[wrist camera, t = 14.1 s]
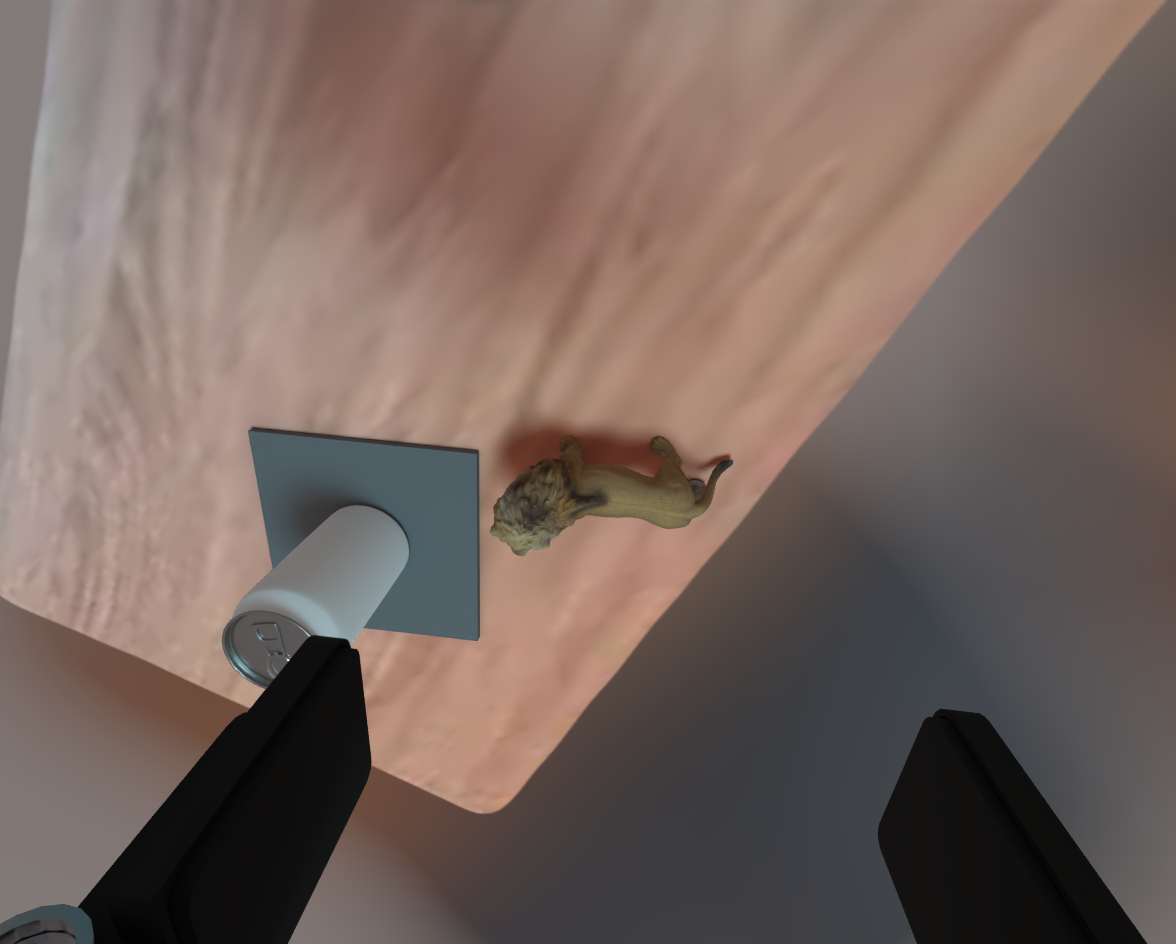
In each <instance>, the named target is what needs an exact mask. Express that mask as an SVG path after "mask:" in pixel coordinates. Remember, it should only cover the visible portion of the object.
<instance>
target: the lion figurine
mask: <svg viewBox="0 0 1176 944" xmlns="http://www.w3.org/2000/svg"><path fill="white" fill-rule="evenodd" d="M560 447H561V451H562V452H563V453H562V454H561V456H560V459H553V460H550V459H543V460H541V461H539V463H538V464H537V465H536V466H530V467H528V468H527V469H526V470H525V471H524V473H523V474H521V475H519V476H518V477H517V479H516V481H514V482H512V483H511V484H510V485H509V487H508V488H507V489H506V491H505V493H504V494H503V495H502V497H500V498H498V500H497V503H496V504H495V505H494V507H493V510H494V514H495V516H494V525H493V526H492V527H491V530H490V534H491V535H492V536H496V537H499V540H500V541H501V542H506V543H507V545H508V546H510V547H511V549H512V551H513V553H514V554H516V555H518V556H523V555H525V554H526V553H527V551H529V550H530V549H531V548H532V549H534V550H539V549H545V548H548V547H549V545H550V540H551V539H553V538H555V537H556V536H558V535H559V534H560V532H561V531H562V530H563V529H565V528H566V527H568V526H571V525H573V523H574V522H575V520H577V519H580V518H583V517H584V516H586V515H592V516H601V517H615V518H619V517H633V518H640V519H643V520H646V521H648V522H650V523H652V524H654V525H657V526H659V527H662V528H665V529H674V528H681V527H685V526H687V525H688V524H689V523H690V521H691V519H693V518H695V517H698V516H700V515H701V514H703V513H704V512H705V511H706V510H707V508H708V507H709V506H710V504H711V501H712V498H713V494H714V490H715V485H716V482H717V480H718V478H719V477H720V475H721V473H723V472H724V471H725V470H726V469H727V468H729V467H730V466H731V465H732V464H733V460H724V461H721V462H720V463H719V464H718V465H717V466H716V468H715V469H714V470H713V471H712V474H711V476H710V478H709V481H708V483H707V486H706V485H705V484H704V483H703V482H701V481H698V480H691V481H688V480H687V478H686V476H685V475H684V473H683V472H682V470H681V468H680V467H681V465H682V459H681V458H680V457H679V456H678V454H677V453H676V452H675V451H674V450H673V448H672V446H671V444H670V443H669V442H668V441H667V440H666V439H664V438H662V437H657V438H655V439H653V441H652V444H651V450H652V452H653V453H655V454H657V455H662V456H665V457H666V458H667V460H666V461H665V462H664V463H663V464H661V465H660V467H659V469H658V473H657V475H656V476H655V477H648V476H645V475H642V474H640V473H638V472H636V471H633V470H631V469H628V468H625V467H621V466H615V465H590V466H586V464H585V462H584V461H583V460H582V459H581V452H582V451H581V447H580V445H579V443H578V441H577V440H576V439H575V438H573V437H571V436H566V437H565V438H563V439H562V441H561V443H560Z"/></svg>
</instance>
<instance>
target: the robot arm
mask: <svg viewBox="0 0 1176 944" xmlns="http://www.w3.org/2000/svg"><path fill="white" fill-rule="evenodd" d="M370 769H371V751H370V743H369V734H368V725H367V716H366V708H365V699H364V690H363V681H362V673H361V664H360V655H359V651H358V650H357V649H351V646H350V642H349V641H348V640H347V639H344V638H335V637H327V636H318V635H312V636H310V637H308V638H307V639H306V640H305V641H304V643H303V644H302V645H301V646H300V648H299V649H298V650H297V651H296V652H295V654H294V655H293V656H292V657H291V659H290V660H289V661H288V662H287V664H286V665H285V666H284V667H283V669H282V670H281V671H280V672H279V674H278V675H277V676H276V677H275V679H274V680H273V681H272V682H271V683H270V685H269V686H268V687H267V688H266V690H265V691H264V692H263V693H262V695H261V696H260V697H259V698H258V700H257V701H256V702H255V703H254V705H253V706H252V707H251V708H250V710H249V711H248V712H246V713H243V714H241V715H239V716H237V717H236V718H235V719H234V720H233V721H232V722H231V723H230V724H229V725H228V726H227V727H226V728H225V729H224V731H223V732H222V733H221V734H220V735H219V736H218V738H217V739H216V740H215V741H214V742H213V744H212V745H211V746H210V747H209V749H208V750H207V751H206V752H205V754H204V755H203V756H202V757H201V758H200V759H199V761H198V762H197V763H196V764H195V765H194V767H193V768H192V769H191V771H190V772H189V773H188V774H187V775H186V777H185V778H184V779H183V780H182V781H181V782H180V784H179V785H178V786H177V787H176V789H175V790H174V791H173V792H172V794H171V795H170V796H169V797H168V798H167V800H166V801H165V802H164V803H163V804H162V806H161V807H160V808H159V809H158V810H157V812H156V813H155V814H154V815H153V816H152V818H151V819H150V820H149V821H148V822H147V824H146V825H145V826H144V827H143V829H142V830H141V831H140V832H139V834H138V835H137V836H136V837H135V838H134V840H133V841H132V842H131V843H130V844H129V846H128V847H127V848H126V849H125V851H124V852H123V853H122V854H121V855H120V856H119V858H118V859H117V860H116V861H115V863H114V864H113V865H112V866H111V867H110V869H109V870H108V871H107V872H106V873H105V875H104V876H103V877H102V878H101V880H100V881H99V882H98V883H97V884H96V886H95V887H94V888H93V889H92V890H91V892H90V893H89V894H88V895H87V897H86V898H85V899H84V900H83V901H82V902H81V904H80V905H79V906H78V907H74V906H70V905H66V904H60V905H49V906H41V907H38V908H35V909H33V910H30V911H27V912H24V913H21V914H18V915H16V916H14V917H12V918H10V919H8V920H7V921H5V922H3V923H1V924H0V944H288V942H289V940H290V938H291V936H292V934H293V932H294V930H295V928H296V926H297V924H298V921H299V920H300V918H301V915H302V914H303V912H304V910H305V907H306V905H307V903H308V901H309V899H310V897H311V895H312V893H313V891H314V889H315V887H316V885H317V883H318V881H319V879H320V877H321V875H322V873H323V871H324V869H325V867H326V865H327V863H328V861H329V858H330V856H331V854H332V852H333V850H334V848H335V846H336V844H337V842H338V840H339V838H340V836H341V834H342V832H343V830H344V828H345V826H346V824H347V822H348V820H349V818H350V816H351V814H352V811H353V809H354V807H355V805H356V803H357V801H358V799H359V797H360V795H361V793H362V791H363V789H364V787H365V785H366V782H367V780H368V777H369V773H370ZM878 840H879V846H880V849H881V852H882V855H883V857H884V860H885V862H886V865H887V867H888V870H889V873H890V875H891V877H892V880H893V883H894V886H895V888H896V891H897V893H898V896H899V898H900V901H901V904H902V906H903V908H904V911H905V914H906V916H907V919H908V922H909V924H910V927H911V929H912V932H913V934H914V937H915V940H916V942H917V944H1147V943H1146V941H1145V940H1144V939H1143V937H1142V936H1141V934H1140V933H1139V931H1138V930H1137V929H1136V927H1135V926H1134V924H1133V923H1132V922H1131V920H1130V919H1129V917H1128V916H1127V915H1126V914H1125V912H1124V910H1123V909H1122V908H1121V906H1120V905H1119V904H1118V902H1117V900H1116V899H1115V898H1114V896H1113V895H1112V894H1111V892H1110V891H1109V889H1108V888H1107V886H1106V885H1105V884H1104V882H1103V881H1102V879H1101V878H1100V877H1099V875H1098V874H1097V872H1096V871H1095V870H1094V868H1093V867H1092V866H1091V864H1090V862H1089V861H1088V860H1087V858H1086V857H1085V856H1084V854H1083V853H1082V851H1081V850H1080V848H1079V847H1078V846H1077V844H1076V843H1075V841H1074V840H1073V839H1072V838H1071V836H1070V834H1069V833H1068V832H1067V830H1066V829H1065V828H1064V826H1063V824H1062V823H1061V822H1060V820H1059V819H1058V818H1057V816H1056V815H1055V813H1054V812H1053V810H1052V809H1051V808H1050V806H1049V805H1048V804H1047V802H1046V801H1045V799H1044V798H1043V796H1042V795H1041V794H1040V792H1039V791H1038V790H1037V788H1036V786H1035V785H1034V784H1033V782H1032V781H1031V779H1030V778H1029V777H1028V775H1027V774H1026V773H1025V771H1024V770H1023V768H1022V767H1021V765H1020V764H1019V763H1018V761H1017V760H1016V758H1015V757H1014V755H1013V754H1012V753H1011V751H1010V750H1009V748H1008V747H1007V746H1006V744H1005V743H1004V741H1003V740H1002V739H1001V737H1000V736H999V734H998V733H997V732H996V730H995V729H994V727H993V726H992V724H991V723H990V722H989V721H988V720H987V719H986V718H985V716H983V715H981V714H979V713H973V712H964V711H955V710H947V709H939V710H938V711H936V712H935V714H934V716H933V717H927V718H926V719H925V720H924V722H923V723H922V726H921V728H920V730H919V733H918V735H917V737H916V740H915V743H914V744H913V747H912V749H911V751H910V754H909V756H908V759H907V761H906V763H905V765H904V768H903V770H902V772H901V775H900V777H899V779H898V782H897V784H896V786H895V789H894V791H893V793H892V796H891V798H890V800H889V802H888V805H887V807H886V809H885V812H884V814H883V816H882V819H881V821H880V823H879V828H878Z"/></svg>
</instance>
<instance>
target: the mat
mask: <svg viewBox="0 0 1176 944" xmlns="http://www.w3.org/2000/svg"><path fill="white" fill-rule="evenodd" d="M248 434H249V439H250V445H251V450H252V456H253V461H254V467H255V473H256V478H257V484H258V489H259V495H260V500H261V506H262V511H263V517H264V523H265V528H266V534H267V539H268V545H269V550H270V556H271V561H272V567H273V569H274V568H275V567H276V566H277V565H278V564H279V563H280V562H281V561H282V560H283V559H284V558H285V557H286V556H288V555H289V554H290V553H291V552H292V551H293V550H294V549H295V548H296V547H297V546H298V545H299V544H300V543H301V542H303V541H304V540H305V539H306V538H307V537H308V536H309V535H310V534H311V533H312V532H313V531H314V530H315V529H317V528H318V527H319V526H320V525H321V524H322V523H323V522H324V521H325V520H326V519H327V518H329V517H330V516H331V515H332V514H333V513H335V512H336V511H338V510H339V509H341V508H344V507H348V506H354V505H360V506H368V507H372V508H375V509H377V510H380V511H382V512H384V513H385V514H387V515H388V516H390V517H391V518H392V519H393V520H394V521H395V522H396V523H397V524H398V525H399V526H400V527H401V529H402V530H403V532H404V534H405V536H406V538H407V541H408V546H409V557H408V560H407V563H406V565H405V567H404V569H403V570H402V572H401V573H400V575H399V576H398V578H397V579H396V581H395V582H394V584H393V585H392V587H391V588H390V590H389V591H388V593H387V594H386V595H385V597H384V598H383V600H382V601H381V603H380V604H379V606H378V607H377V609H376V610H375V611H374V613H373V614H372V616H371V617H370V619H369V620H368V622H367V623H366V625H365V626H364V627H363V628H370V629H378V630H387V631H395V632H404V633H412V634H421V635H430V636H438V637H447V638H455V639H464V640H473V641H478V639H479V637H480V577H479V451H476V450H466V449H456V448H446V447H436V446H426V445H416V444H406V443H396V442H386V441H377V440H367V439H357V438H347V437H337V436H327V435H317V434H307V433H297V432H287V431H277V430H268V429H258V428H253V429H251V430H249V431H248Z"/></svg>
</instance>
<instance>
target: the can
mask: <svg viewBox="0 0 1176 944" xmlns="http://www.w3.org/2000/svg"><path fill="white" fill-rule="evenodd" d="M408 557H409V546H408V541H407V538H406V536H405V534H404V532H403V530H402V529H401V527H400V526H399V525H398V524H397V523H396V522H395V521H394V520H393V519H392V518H391V517H390V516H388V515H387V514H385V513H384V512H382V511H380V510H377V509H375V508H372V507H368V506H360V505H354V506H348V507H344V508H341V509H339V510H338V511H336V512H335V513H333V514H332V515H331V516H330V517H329V518H327V519H326V520H325V521H324V522H323V523H322V524H321V525H320V526H319V527H318V528H317V529H315V530H314V531H313V532H312V533H311V534H310V535H309V536H308V537H307V538H306V539H305V540H304V541H303V542H301V543H300V544H299V545H298V546H297V547H296V548H295V549H294V550H293V551H292V552H291V553H290V554H289V555H288V556H286V557H285V558H284V559H283V560H282V561H281V562H280V563H279V564H278V565H277V566H276V567H275V568H274V569H273V570H272V571H270V572H269V573H268V574H267V575H266V576H265V577H264V578H263V579H262V580H261V581H260V582H259V583H258V584H257V585H256V586H255V587H254V588H253V589H251V590H250V591H249V592H248V593H247V594H246V595H245V596H244V598H243V599H242V600H241V601H240V602H239V604H238V605H237V607H236V609H235V612H234V615H233V618H232V619H231V620H230V621H229V622H228V624H227V625H226V627H225V629H224V631H223V635H222V646H223V650H224V653H225V655H226V657H227V659H228V661H229V662H230V664H231V665H232V666H233V668H234V669H235V670H236V671H237V672H238V673H239V674H240V675H241V676H243V677H244V678H245V679H247V680H248V681H250V682H251V683H253V684H255V685H257V686H259V687H262V688H264V689H266V688H267V687H268V686H269V685H270V683H271V682H272V681H273V680H274V679H275V677H276V676H277V675H278V674H279V672H280V671H281V670H282V669H283V667H284V666H285V665H286V664H287V662H288V661H289V660H290V659H291V657H292V656H293V655H294V654H295V652H296V651H297V650H298V649H299V648H300V646H301V645H302V644H303V643H304V641H305V640H306V639H307V638H308V637H310V636H312V635H318V636H327V637H335V638H344V639H347V640H348V641H349V642H350V646H351V645H352V643H353V642H354V640H355V639H356V637H357V636H358V635H359V633H360V632H361V630H362V629H363V627H364V626H365V625H366V623H367V622H368V620H369V619H370V617H371V616H372V614H373V613H374V611H375V610H376V609H377V607H378V606H379V604H380V603H381V601H382V600H383V598H384V597H385V595H386V594H387V593H388V591H389V590H390V588H391V587H392V585H393V584H394V582H395V581H396V579H397V578H398V576H399V575H400V573H401V572H402V570H403V569H404V567H405V565H406V563H407V560H408Z"/></svg>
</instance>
